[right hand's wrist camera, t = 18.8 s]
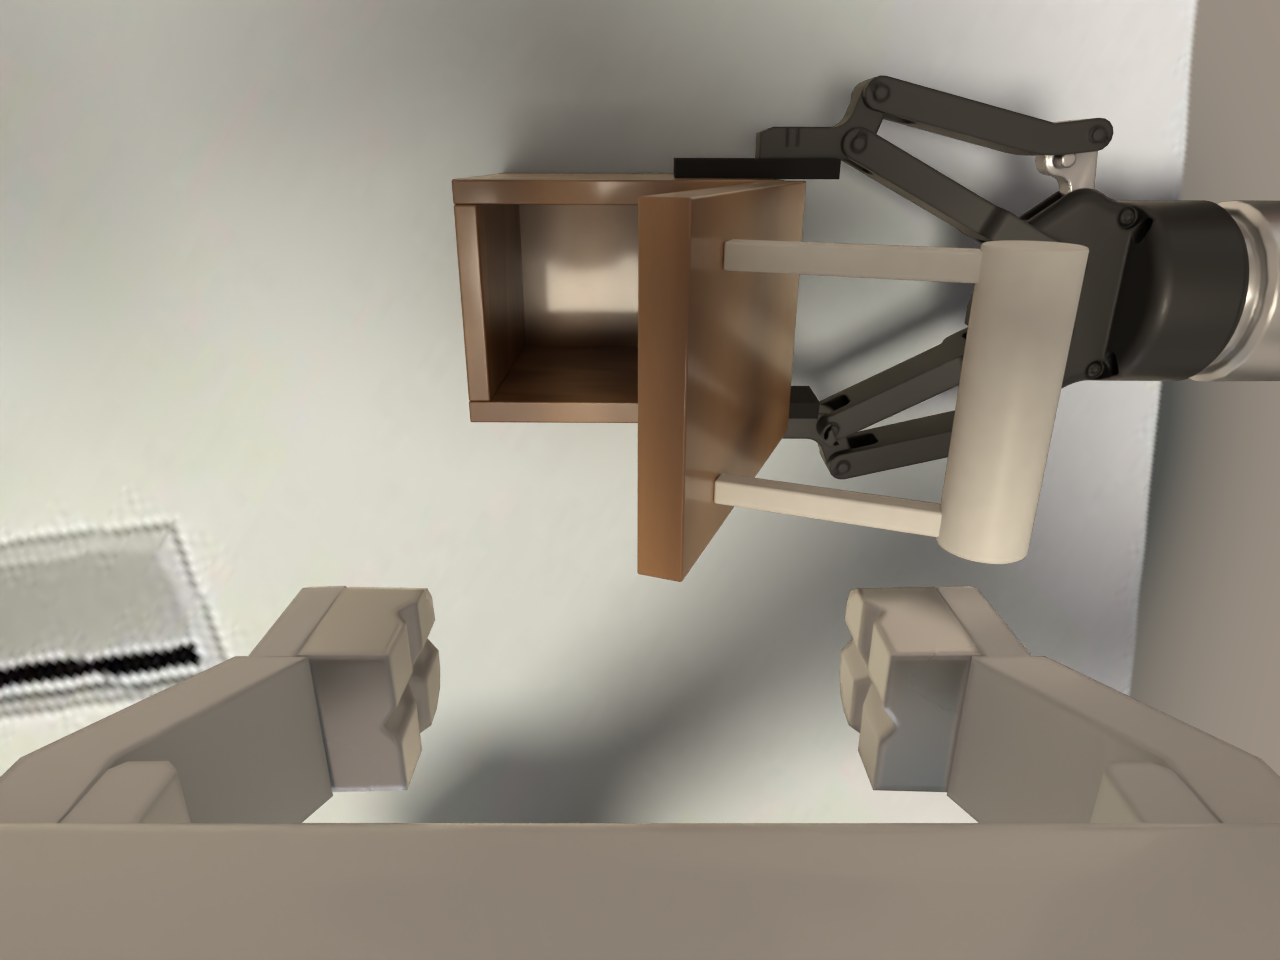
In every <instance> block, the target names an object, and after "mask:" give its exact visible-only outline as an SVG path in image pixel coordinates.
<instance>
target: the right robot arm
mask: <svg viewBox="0 0 1280 960" xmlns="http://www.w3.org/2000/svg"><path fill="white" fill-rule="evenodd" d="M434 621H435V615H434V608H433V601H432V596H431V594H430V592H429V591H428V589H427V588H380V587H348V588H347V587H346V586H328V587H307V588H303V589H302V590H301V591H300V592H299V593H298V594H297V596H296V597H295V598H294V599H293V601H292V602H291V603H290V604H289V606H288V607H287V608H286V609H285V611H284V612H283V613H282V614H281V616H280V617H279V618H278V619H277V621H276V622H275V623H274V624H273V626H272V627H271V628H270V629H269V631H268V632H267V633H266V635H265V636H264V637H263V638H262V640H261V641H260V642H259V643H258V645H257V646H256V647H255V648H254V650H253V651H252V652H251V653H250V655H249V656H235V657H233V658H231V659H229V660H227V661H225V662H222V663H220V664H218V665H216V666H214V667H212V668H210V669H208V670H205V671H203V672H201V673H199V674H197V675H195V676H193V677H191V678H188V679H186V680H184V681H182V682H180V683H178V684H176V685H174V686H172V687H169V688H167V689H165V690H163V691H161V692H159V693H157V694H155V695H152V696H150V697H148V698H146V699H144V700H142V701H140V702H138V703H136V704H133V705H131V706H129V707H127V708H125V709H123V710H121V711H119V712H116V713H114V714H112V715H110V716H108V717H106V718H104V719H102V720H99V721H97V722H95V723H93V724H91V725H89V726H87V727H85V728H83V729H80V730H78V731H76V732H74V733H72V734H70V735H68V736H66V737H63V738H61V739H59V740H57V741H55V742H53V743H51V744H49V745H47V746H44V747H42V748H40V749H38V750H36V751H34V752H32V753H30V754H27V755H25V756H23V757H21V758H20V759H19V760H18V761H17V762H15V763H14V764H13V765H12V766H11V767H10V768H9V769H8V770H7V771H6V772H5V773H4V774H3V775H2V776H1V777H0V960H1280V777H1279V776H1278V775H1277V774H1276V773H1275V772H1274V771H1273V770H1272V769H1271V768H1270V767H1269V766H1268V765H1267V764H1266V763H1265V762H1264V761H1263V760H1262V759H1260V758H1258V757H1256V756H1254V755H1252V754H1250V753H1248V752H1246V751H1243V750H1241V749H1239V748H1237V747H1235V746H1233V745H1231V744H1229V743H1227V742H1224V741H1222V740H1220V739H1218V738H1216V737H1214V736H1212V735H1210V734H1208V733H1205V732H1203V731H1201V730H1199V729H1197V728H1195V727H1193V726H1191V725H1189V724H1186V723H1184V722H1182V721H1180V720H1178V719H1176V718H1174V717H1172V716H1169V715H1167V714H1165V713H1163V712H1161V711H1159V710H1157V709H1155V708H1153V707H1150V706H1148V705H1146V704H1144V703H1142V702H1140V701H1138V700H1136V699H1134V698H1131V697H1129V696H1127V695H1125V694H1123V693H1121V692H1119V691H1117V690H1115V689H1112V688H1110V687H1108V686H1106V685H1104V684H1102V683H1100V682H1098V681H1096V680H1093V679H1091V678H1089V677H1087V676H1085V675H1083V674H1081V673H1079V672H1077V671H1074V670H1072V669H1070V668H1068V667H1066V666H1064V665H1062V664H1060V663H1058V662H1055V661H1053V660H1051V659H1049V658H1047V657H1045V656H1031V655H1030V653H1029V652H1028V651H1027V650H1026V648H1025V647H1024V646H1023V645H1022V643H1021V642H1020V641H1019V640H1018V638H1017V637H1016V636H1015V635H1014V633H1013V632H1012V631H1011V630H1010V628H1009V627H1008V626H1007V625H1006V623H1005V622H1004V621H1003V620H1002V618H1001V617H1000V616H999V615H998V613H997V612H996V611H995V610H994V608H993V607H992V606H991V605H990V603H989V602H988V601H987V600H986V598H985V597H984V596H983V595H982V593H981V592H980V591H979V590H978V589H977V588H974V587H972V586H956V587H907V588H866V589H854V590H850V594H849V597H848V600H847V606H846V614H845V622H846V624H847V626H848V629H849V631H850V633H851V636H852V638H853V639H852V640H851V641H850V642H849V643H848V644H847V645H846V646H845V647H844V648H843V650H842V651H841V663H840V690H841V699H842V704H843V709H844V713H845V715H846V718H847V721H848V724H849V726H851V727H852V728H854V729H855V730H856V731H858V732H859V733H860V738H859V746H858V751H859V754H860V757H861V759H862V762H863V765H864V767H865V770H866V772H867V775H868V778H869V780H870V783H871V786H872V788H873V790H889V791H926V792H947V796H948V797H950V798H951V799H952V800H953V801H954V802H955V803H956V804H958V805H959V806H960V807H961V808H962V809H963V810H965V811H966V812H967V813H968V814H969V815H970V816H971V817H973V818H974V819H975V820H976V821H977V822H978V823H302V822H303V821H304V820H305V819H307V818H308V817H309V816H310V815H311V814H312V813H314V812H315V811H316V810H317V809H318V808H319V807H320V806H322V805H323V804H324V803H325V802H326V801H327V800H329V799H330V798H331V797H332V796H333V794H332V792H353V791H389V790H407V788H408V786H409V783H410V780H411V778H412V775H413V773H414V770H415V767H416V765H417V762H418V759H419V757H420V754H421V751H422V747H421V738H420V733H421V732H422V731H424V730H425V729H426V728H428V727H429V726H431V724H432V721H433V718H434V715H435V712H436V709H437V703H438V697H439V690H440V661H439V651H438V650H437V648H436V647H435V646H434V645H433V644H432V643H431V642H430V641H429V640H428V639H427V638H428V635H429V633H430V631H431V628H432V626H433V624H434Z"/></svg>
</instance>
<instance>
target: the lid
mask: <svg viewBox="0 0 1280 960" xmlns="http://www.w3.org/2000/svg"><path fill="white" fill-rule="evenodd" d="M805 191H806V182H805V181H767V182H759V183H750V184H742V185H733V186H724V187H716V188H707V189H699V190H690V191H681V192H673V193H664V194H656V195H647V196H640V197H639V199H638V574H642V575H647V576H652V577H658V578H663V579H668V580H673V581H679V582H681V581H683V579H684V578H685V576H686V575H687V573H688V572H689V571H690V569H691V568H692V566H693V565H694V563H695V562H696V561H697V559H698V558H699V556H700V555H701V553H702V552H703V551H704V549H705V548H706V546H707V545H708V543H709V542H710V540H711V539H712V538H713V536H714V535H715V533H716V532H717V530H718V529H719V528H720V526H721V525H722V523H723V522H724V520H725V519H726V518H727V516H728V515H729V513H730V512H731V510H732V509H733V508H734V506H736V507H743V508H749V509H756V510H762V511H769V512H776V513H782V514H789V515H795V516H802V517H808V518H815V519H821V520H828V521H834V522H841V523H847V524H854V525H861V526H867V527H874V528H880V529H887V530H893V531H900V532H906V533H913V534H919V535H926V536H932V537H936V540H937V542H938V544H939V545H940V546H941V547H942V548H943V549H944V550H946V551H948V552H949V553H951V554H953V555H956V556H958V557H961V558H964V559H967V560H971V561H975V562H980V563H988V564H1008V563H1014V562H1017V561H1020V560H1022V559H1023V558H1024V557H1025V556H1026V555H1027V553H1028V549H1029V544H1030V539H1031V534H1032V529H1033V524H1034V520H1035V515H1036V510H1037V505H1038V500H1039V495H1040V490H1041V485H1042V480H1043V475H1044V470H1045V465H1046V460H1047V456H1048V451H1049V446H1050V441H1051V436H1052V431H1053V426H1054V421H1055V416H1056V411H1057V406H1058V401H1059V396H1060V392H1061V387H1062V382H1063V377H1064V372H1065V367H1066V362H1067V357H1068V352H1069V347H1070V342H1071V337H1072V332H1073V328H1074V323H1075V318H1076V313H1077V308H1078V303H1079V298H1080V293H1081V288H1082V283H1083V278H1084V273H1085V268H1086V264H1087V259H1088V254H1089V248H1088V247H1086V246H1083V245H1077V244H1070V243H1061V242H1047V241H1022V240H1005V241H989V242H985V243H982V245H981V247H980V249H973V248H948V247H922V246H896V245H870V244H844V243H819V242H802V231H803V217H804V204H805ZM799 274H803V275H823V276H842V277H861V278H880V279H899V280H918V281H937V282H956V283H975V286H974V292H973V299H972V305H971V312H970V318H969V325H968V331H967V337H966V344H965V350H964V357H963V363H962V370H961V376H960V383H959V389H958V396H957V402H956V409H955V415H954V422H953V428H952V435H951V441H950V448H949V454H948V461H947V467H946V473H945V480H944V486H943V493H942V499H941V504H938V503H931V502H924V501H916V500H909V499H902V498H895V497H888V496H881V495H873V494H866V493H859V492H852V491H845V490H838V489H830V488H823V487H816V486H809V485H802V484H795V483H788V482H780V481H773V480H766V479H759V478H755V476H756V475H757V473H758V472H759V470H760V469H761V468H762V466H763V465H764V463H765V462H766V460H767V459H768V458H769V456H770V455H771V453H772V452H773V450H774V449H775V448H776V446H777V445H778V443H779V442H780V440H781V439H782V438H783V436H784V435H785V433H786V432H787V430H788V418H789V405H790V391H791V378H792V365H793V351H794V338H795V324H796V311H797V298H798V284H799Z"/></svg>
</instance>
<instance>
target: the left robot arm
mask: <svg viewBox="0 0 1280 960" xmlns="http://www.w3.org/2000/svg"><path fill="white" fill-rule="evenodd" d="M883 119H886V120H889V121H893V122H897V123H900V124H904V125H907V126H911V127H915V128H918V129H922V130H926V131H929V132H933V133H936V134H940V135H944V136H947V137H951V138H955V139H958V140H962V141H965V142H969V143H973V144H976V145H980V146H984V147H987V148H991V149H994V150H998V151H1002V152H1005V153H1010V154H1015V155H1036V157H1035V166H1036V168H1037V170H1038V171H1039V172H1040V173H1041V174H1043V175H1049V176H1052V177H1054V178H1055V179H1056V180H1057V181H1058V184H1059V191H1058V192H1056V193H1055V194H1053V195H1052V196H1050V197H1049V198H1047V199H1046V200H1044V201H1043V202H1041V203H1040V204H1038V205H1037V206H1035V207H1034V208H1032V209H1031V210H1029V211H1028V212H1026V213H1025V214H1023V215H1022V216H1020V217H1017V216H1016V215H1014V214H1012V213H1010V212H1008V211H1006V210H1004V209H1002V208H1000V207H997V206H995V205H994V204H992V203H990V202H989V201H987V200H985V199H983V198H982V197H980V196H978V195H977V194H975V193H973V192H972V191H970V190H968V189H967V188H965V187H963V186H962V185H960V184H958V183H957V182H955V181H953V180H952V179H950V178H948V177H947V176H945V175H943V174H942V173H940V172H938V171H937V170H935V169H933V168H932V167H930V166H928V165H927V164H925V163H923V162H922V161H920V160H918V159H917V158H915V157H913V156H912V155H910V154H908V153H907V152H905V151H903V150H902V149H900V148H898V147H897V146H895V145H893V144H892V143H890V142H888V141H887V140H885V139H883V138H882V137H880V136H878V135H877V131H878V129H879V127H880V125H881V122H882V120H883ZM1112 136H1113V126H1112V125H1111V123H1110V121H1108V120H1106V119H1104V118H1093V119H1081V120H1069V121H1060V122H1049V121H1045V120H1042V119H1038V118H1035V117H1031V116H1028V115H1024V114H1020V113H1017V112H1013V111H1010V110H1006V109H1003V108H999V107H995V106H992V105H988V104H985V103H981V102H978V101H974V100H970V99H967V98H963V97H960V96H956V95H953V94H949V93H945V92H942V91H938V90H935V89H931V88H928V87H924V86H920V85H917V84H913V83H910V82H906V81H903V80H899V79H895V78H892V77H888V76H878V77H875V78H871V79H869V80H866V81H864V82H861V83H859V84H858V85H857V86H856V87H855V88H854V90H853V92H852V96H851V102H850V104H849V107H848V109H847V111H846V114H845V116H844V117H843V119H842V120H841V121H840V122H839V123H838V124H837V125H835V126H833V127H771V128H768V129H766V130H763V131H761V132H759V133H757V135H756V154H755V158H674V177H675V178H773V179H839V175H840V164H841V160H842V161H843V162H845V163H847V164H848V165H850V166H852V167H854V168H855V169H857V170H859V171H860V172H862V173H864V174H865V175H867V176H869V177H871V178H872V179H874V180H876V181H877V182H879V183H881V184H882V185H884V186H886V187H888V188H889V189H891V190H893V191H894V192H896V193H898V194H900V195H901V196H903V197H905V198H906V199H908V200H910V201H911V202H913V203H915V204H917V205H918V206H920V207H922V208H923V209H925V210H927V211H928V212H930V213H932V214H934V215H935V216H937V217H939V218H940V219H942V220H944V221H945V222H947V223H949V224H951V225H952V226H954V227H956V228H957V229H958V230H959V231H961V232H962V233H964V234H965V235H967V236H969V237H970V238H972V239H974V240H975V241H977V242H979V243H981V244H982V243H985V242H989V241H1005V240H1022V241H1047V242H1061V243H1070V244H1077V245H1083V246H1086V247H1088V248H1089V254H1088V259H1087V264H1086V268H1085V273H1084V278H1083V283H1082V288H1081V293H1080V298H1079V303H1078V308H1077V313H1076V318H1075V323H1074V328H1073V332H1072V337H1071V342H1070V347H1069V352H1068V357H1067V362H1066V367H1065V372H1064V377H1063V382H1062V387H1061V388H1064V387H1066V386H1068V385H1070V384H1072V383H1075V382H1078V381H1083V380H1110V381H1179V380H1184V379H1188V378H1190V379H1193V380H1196V381H1280V201H1226V202H1221V203H1218V204H1216V203H1213V202H1210V201H1163V200H1112V199H1110V198H1108V197H1106V196H1105V195H1103V194H1102V193H1101V192H1099V191H1097V190H1094V186H1095V175H1096V165H1097V154H1098V151H1099V150H1102V149H1103V148H1105V147H1106V146H1107V145H1108V144H1109V142H1110V141H1111V139H1112ZM974 286H975V283H974ZM972 299H973V294H972V296H971V299H970V301H969V304H968V306H967V312H966V318H965V324H967V325H969V318H970V312H971V305H972ZM967 331H968V327H967V328H965V329H963V330H961V331H959V332H957V333H955V334H953V335H950V336H949V337H947V338H945V339H944V340H943V342H942V343H941V344H940V345H938V346H936V347H934V348H932V349H929V350H927V351H925V352H923V353H921V354H919V355H917V356H915V357H913V358H910V359H908V360H906V361H904V362H902V363H900V364H898V365H896V366H894V367H891V368H889V369H887V370H885V371H883V372H881V373H879V374H877V375H875V376H872V377H870V378H868V379H866V380H864V381H862V382H860V383H858V384H856V385H853V386H851V387H849V388H847V389H845V390H843V391H841V392H839V393H837V394H834V395H832V396H830V397H828V398H826V399H824V400H822V401H820V402H819V401H818V399H817V398H816V396H815V395H814V393H813V392H812V390H811V389H810V387H809V386H791V391H790V405H789V418H788V430H787V432H786V433H785V435H784V436H783V438H792V439H812V440H815V441H816V442H817V443H818V446H819V449H820V454H821V457H822V458H823V460H824V462H825V464H826V466H827V468H828V469H829V471H830V473H831V475H832V476H833V477H835V478H837V479H847V478H852V477H857V476H862V475H866V474H871V473H876V472H880V471H885V470H890V469H894V468H899V467H904V466H908V465H913V464H918V463H922V462H927V461H932V460H936V459H941V458H946V457H948V454H949V448H950V441H951V435H952V428H953V422H954V415H955V411H950V412H946V413H941V414H937V415H932V416H927V417H923V418H918V419H914V420H909V421H905V422H900V423H896V424H891V425H886V426H882V427H877V428H873V429H868V430H864V431H860V430H862V429H864V428H866V427H868V426H871V425H873V424H875V423H877V422H879V421H881V420H884V419H886V418H888V417H890V416H892V415H894V414H897V413H899V412H901V411H903V410H905V409H907V408H910V407H912V406H914V405H916V404H918V403H920V402H923V401H925V400H927V399H929V398H931V397H933V396H936V395H938V394H940V393H942V392H944V391H946V390H949V389H951V388H953V387H955V386H957V385H959V383H960V376H961V370H962V363H963V357H964V350H965V344H966V337H967ZM858 431H859V432H858Z"/></svg>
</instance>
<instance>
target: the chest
mask: <svg viewBox="0 0 1280 960" xmlns="http://www.w3.org/2000/svg"><path fill="white" fill-rule="evenodd" d="M767 181H784V180H779V179H773V178H675V177H674V174H667V173H499V174H493V175H485V176H476V177H468V178H460V179H453V180H452V191H453V203H454V204H456V205H454V215H455V228H456V240H457V253H458V266H459V278H460V291H461V304H462V317H463V329H464V342H465V355H466V368H467V380H468V393H469V400H470V402H469V408H470V421H471V422H566V423H638V199H639V197H640V196H647V195H656V194H664V193H673V192H681V191H690V190H699V189H707V188H716V187H724V186H733V185H742V184H750V183H759V182H767Z"/></svg>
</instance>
